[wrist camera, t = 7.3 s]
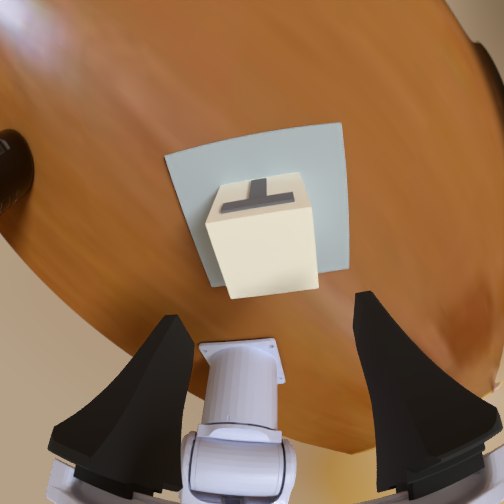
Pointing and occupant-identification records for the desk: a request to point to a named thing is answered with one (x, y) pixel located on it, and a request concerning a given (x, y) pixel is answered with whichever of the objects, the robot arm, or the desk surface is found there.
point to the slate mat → (264, 165)
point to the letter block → (264, 236)
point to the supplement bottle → (14, 168)
